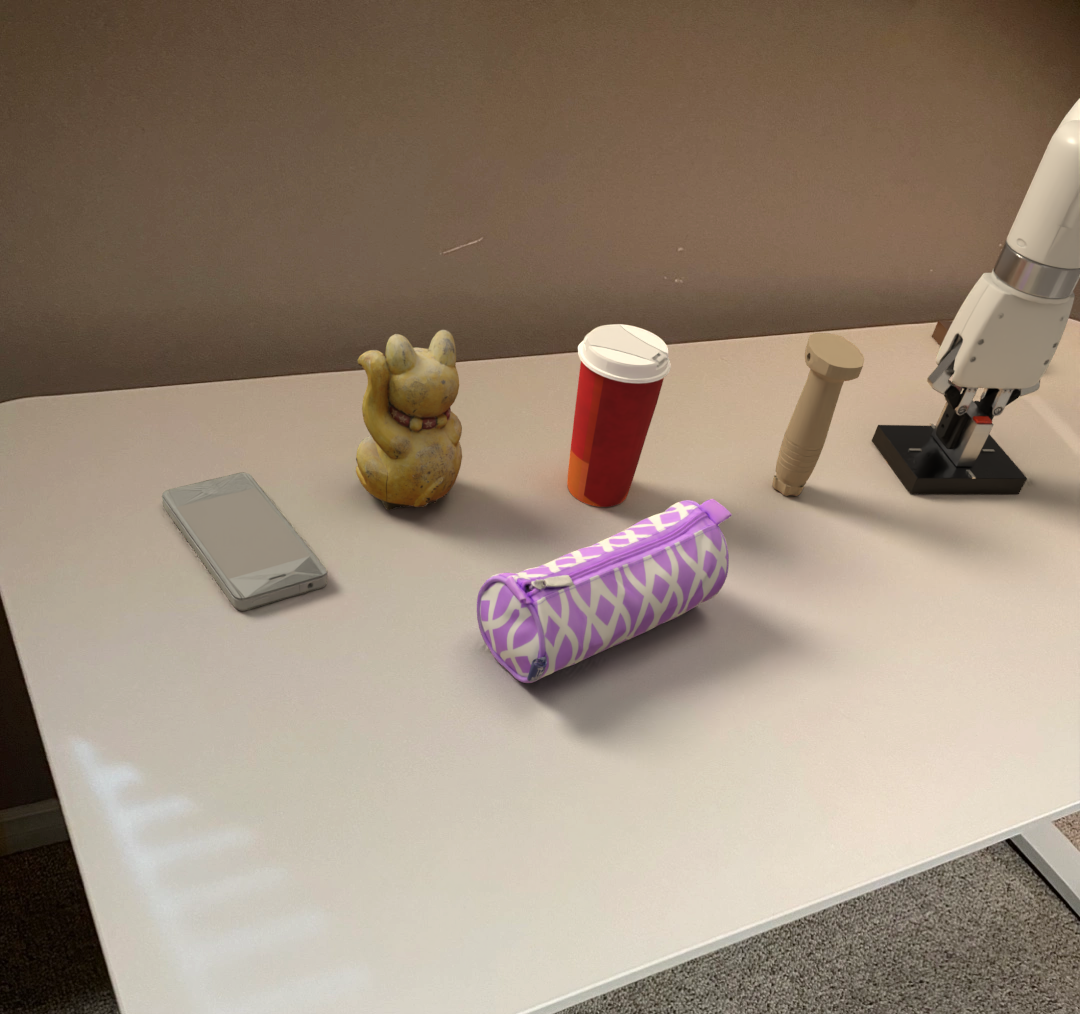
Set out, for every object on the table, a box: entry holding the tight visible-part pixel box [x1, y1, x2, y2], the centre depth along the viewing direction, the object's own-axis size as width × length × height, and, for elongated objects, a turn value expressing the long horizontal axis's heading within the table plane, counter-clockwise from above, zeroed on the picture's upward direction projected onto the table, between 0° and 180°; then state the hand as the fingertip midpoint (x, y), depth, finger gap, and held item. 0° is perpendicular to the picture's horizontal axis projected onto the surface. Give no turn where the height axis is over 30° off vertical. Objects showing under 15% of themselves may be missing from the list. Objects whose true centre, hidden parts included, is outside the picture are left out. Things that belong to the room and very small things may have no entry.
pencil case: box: [476, 498, 733, 684], centre depth 87 cm, size 22×9×10 cm, turn 130°
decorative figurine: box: [355, 329, 463, 511], centre depth 94 cm, size 10×8×15 cm
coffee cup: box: [566, 323, 672, 508], centre depth 99 cm, size 8×8×15 cm
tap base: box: [871, 423, 1028, 495], centre depth 116 cm, size 13×10×2 cm
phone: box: [161, 471, 328, 612], centre depth 91 cm, size 8×16×1 cm, turn 35°
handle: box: [771, 332, 865, 497], centre depth 104 cm, size 5×6×15 cm
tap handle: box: [932, 399, 994, 467], centre depth 113 cm, size 6×2×5 cm, turn 11°
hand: (956, 441), depth 114 cm, fingers closed on tap handle, 2 cm apart
